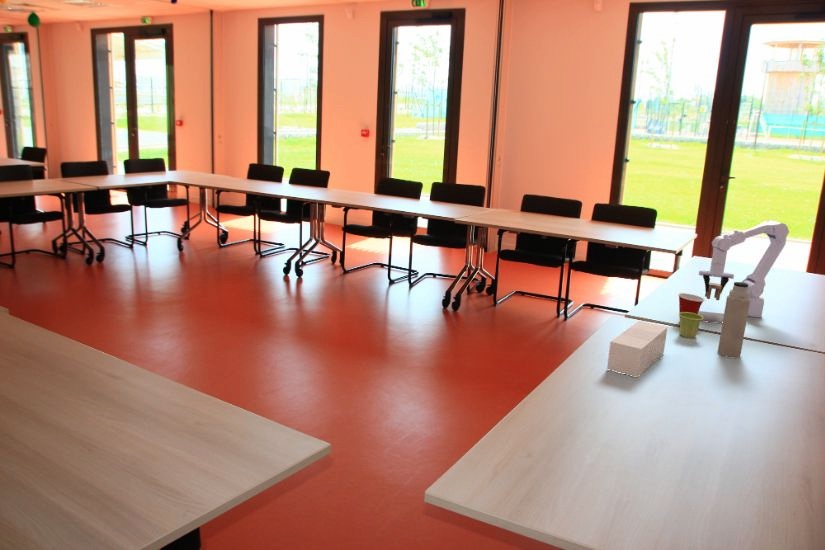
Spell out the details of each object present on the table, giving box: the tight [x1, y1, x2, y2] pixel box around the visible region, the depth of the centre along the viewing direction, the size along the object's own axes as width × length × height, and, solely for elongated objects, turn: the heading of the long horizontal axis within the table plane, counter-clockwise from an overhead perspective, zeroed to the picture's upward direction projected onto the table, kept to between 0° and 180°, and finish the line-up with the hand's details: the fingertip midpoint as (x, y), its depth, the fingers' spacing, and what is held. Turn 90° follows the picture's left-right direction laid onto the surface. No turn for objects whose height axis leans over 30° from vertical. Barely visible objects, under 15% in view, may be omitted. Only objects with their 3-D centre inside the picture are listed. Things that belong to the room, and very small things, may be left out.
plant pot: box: [678, 312, 703, 339], centre depth 282 cm, size 9×9×9 cm
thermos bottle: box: [717, 281, 750, 358], centre depth 260 cm, size 8×8×28 cm
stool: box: [704, 282, 722, 301], centre depth 315 cm, size 5×5×7 cm
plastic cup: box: [677, 292, 705, 314], centre depth 300 cm, size 11×11×12 cm
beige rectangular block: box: [606, 320, 668, 378], centre depth 249 cm, size 32×11×11 cm, turn 145°
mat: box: [698, 310, 724, 324], centre depth 310 cm, size 16×16×1 cm
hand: (713, 292), depth 315 cm, fingers closed on stool, 5 cm apart
